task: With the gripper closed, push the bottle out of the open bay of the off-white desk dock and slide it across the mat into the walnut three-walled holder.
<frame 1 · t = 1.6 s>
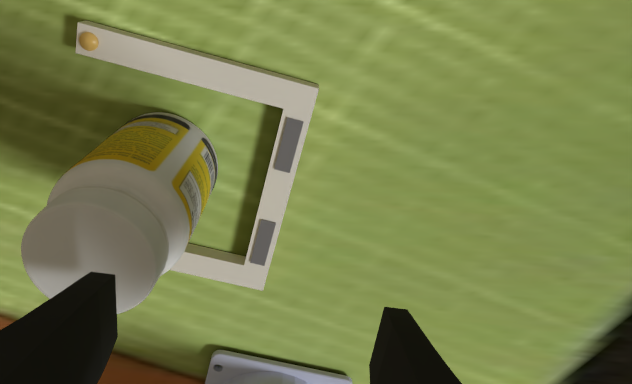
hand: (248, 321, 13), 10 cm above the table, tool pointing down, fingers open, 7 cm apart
supplement bottle: (168, 159, 22), on the table
dock: (167, 161, 22), on the table
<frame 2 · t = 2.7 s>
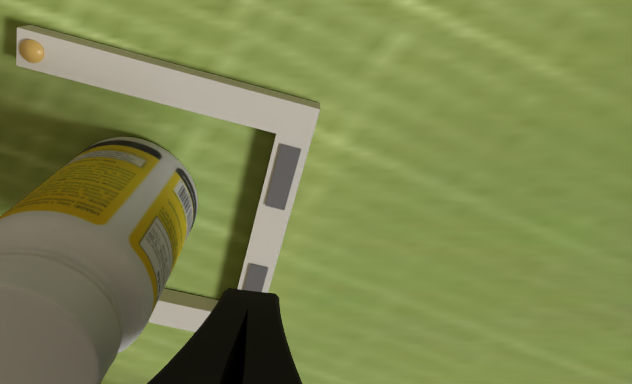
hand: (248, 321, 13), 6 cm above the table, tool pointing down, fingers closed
supplement bottle: (139, 192, 18), on the table
dock: (136, 194, 18), on the table
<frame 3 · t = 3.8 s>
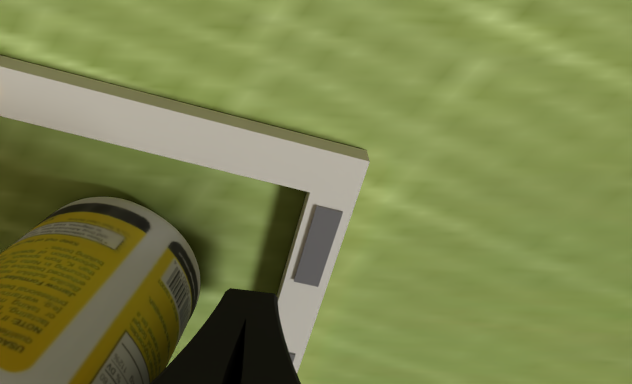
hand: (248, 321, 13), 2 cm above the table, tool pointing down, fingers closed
supplement bottle: (127, 263, 14), on the table, touching gripper
dock: (127, 263, 14), on the table
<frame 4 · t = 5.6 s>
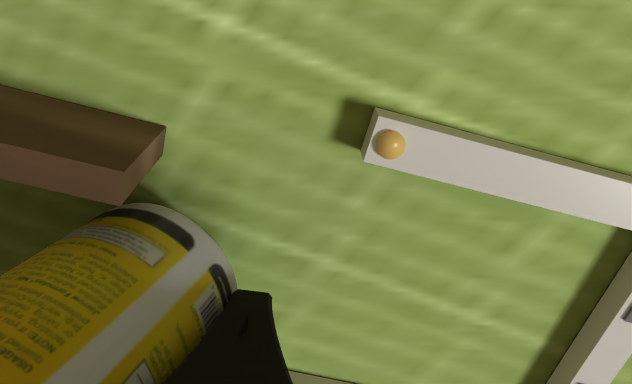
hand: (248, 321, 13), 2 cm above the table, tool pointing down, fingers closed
holder: (23, 250, 14), on the table
supplement bottle: (169, 273, 14), on the table, touching gripper
dock: (446, 301, 15), on the table
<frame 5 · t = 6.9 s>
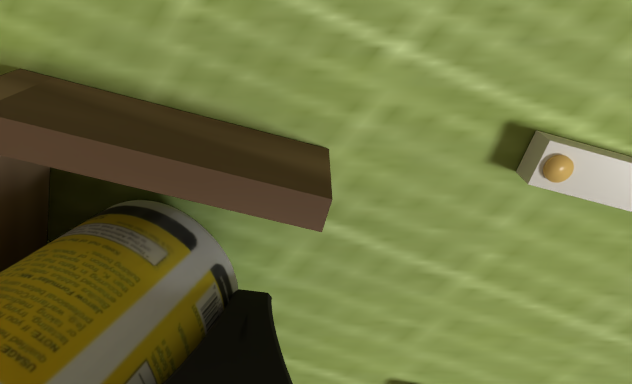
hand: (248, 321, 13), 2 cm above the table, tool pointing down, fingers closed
holder: (169, 267, 14), on the table
supplement bottle: (169, 271, 14), on the table, touching gripper
dock: (577, 317, 15), on the table
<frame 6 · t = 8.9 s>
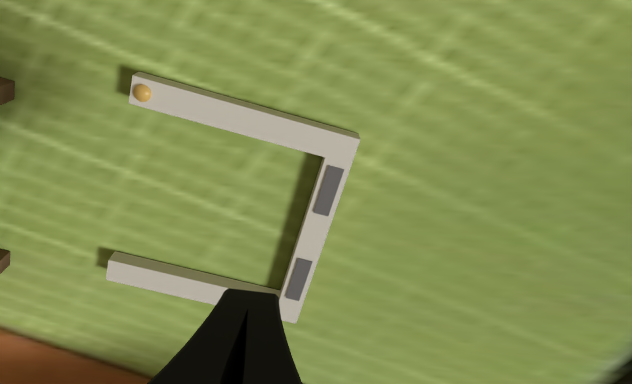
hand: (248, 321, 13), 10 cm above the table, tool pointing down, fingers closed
dock: (209, 202, 23), on the table
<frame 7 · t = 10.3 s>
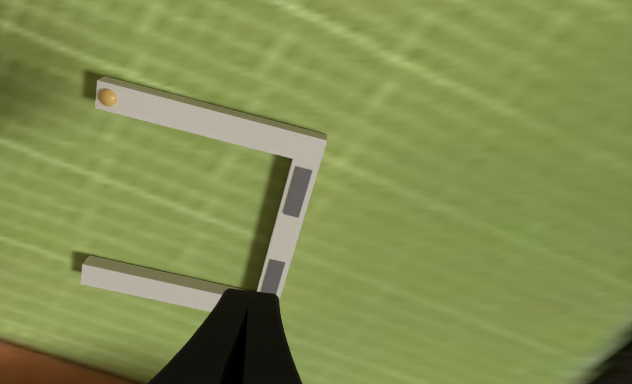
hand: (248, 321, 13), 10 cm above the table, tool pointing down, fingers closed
dock: (181, 205, 23), on the table
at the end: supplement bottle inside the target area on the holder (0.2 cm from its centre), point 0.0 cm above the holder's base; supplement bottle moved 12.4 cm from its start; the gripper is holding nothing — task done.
